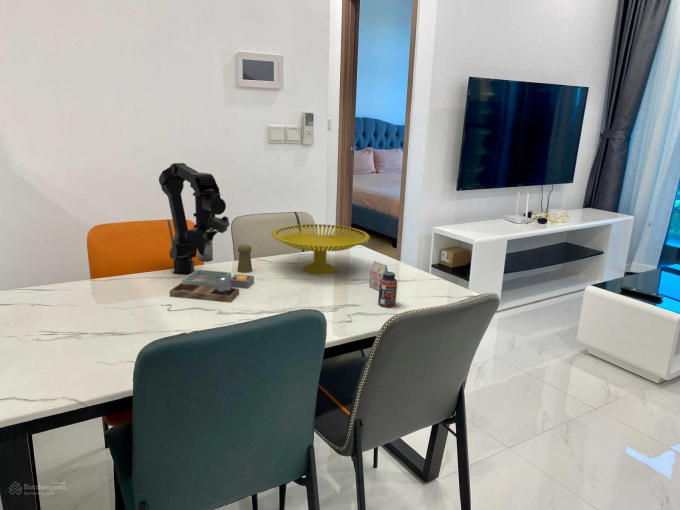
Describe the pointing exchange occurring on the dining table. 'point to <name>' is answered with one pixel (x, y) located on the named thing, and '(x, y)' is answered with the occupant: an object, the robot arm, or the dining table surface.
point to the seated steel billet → (223, 285)
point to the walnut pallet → (201, 292)
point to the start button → (241, 277)
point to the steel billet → (207, 252)
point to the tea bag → (377, 274)
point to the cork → (244, 259)
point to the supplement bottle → (387, 290)
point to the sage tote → (203, 273)
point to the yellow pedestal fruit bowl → (320, 243)
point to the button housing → (242, 282)
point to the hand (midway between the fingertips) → (205, 253)
